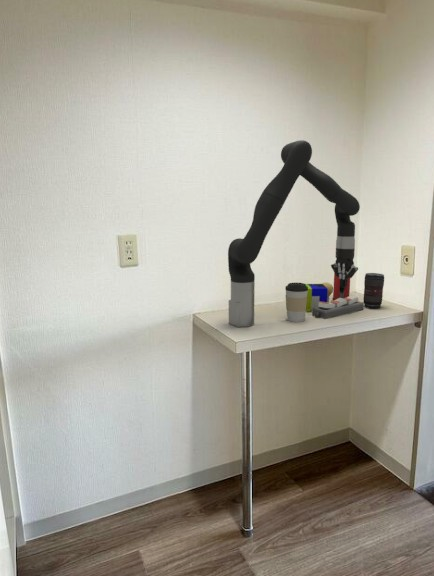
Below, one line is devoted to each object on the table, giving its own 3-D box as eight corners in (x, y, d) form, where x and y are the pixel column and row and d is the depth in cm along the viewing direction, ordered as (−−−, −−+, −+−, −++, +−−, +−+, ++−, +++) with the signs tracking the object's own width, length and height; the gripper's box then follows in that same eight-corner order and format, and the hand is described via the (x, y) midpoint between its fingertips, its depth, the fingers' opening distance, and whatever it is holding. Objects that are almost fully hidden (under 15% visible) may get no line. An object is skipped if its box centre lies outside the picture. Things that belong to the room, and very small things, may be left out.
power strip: (322, 319, 170) (322, 311, 170) (309, 315, 176) (309, 308, 175) (363, 309, 184) (363, 302, 184) (350, 306, 190) (350, 299, 189)
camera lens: (383, 309, 184) (386, 276, 181) (364, 309, 185) (366, 275, 182) (380, 305, 192) (382, 272, 188) (361, 304, 193) (363, 272, 190)
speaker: (332, 302, 198) (334, 264, 194) (332, 298, 205) (333, 261, 201) (350, 303, 196) (352, 264, 192) (348, 299, 203) (350, 262, 199)
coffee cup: (284, 315, 176) (285, 280, 173) (306, 316, 175) (307, 281, 172) (284, 322, 168) (285, 285, 164) (307, 323, 166) (309, 285, 163)
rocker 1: (324, 308, 173) (325, 303, 172) (318, 306, 176) (319, 301, 175) (334, 308, 176) (335, 303, 176) (327, 306, 179) (328, 301, 179)
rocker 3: (349, 305, 181) (348, 300, 180) (342, 303, 184) (342, 299, 183) (358, 300, 184) (358, 296, 183) (351, 299, 187) (351, 294, 186)
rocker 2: (337, 307, 177) (336, 303, 176) (330, 306, 180) (330, 301, 179) (346, 303, 180) (346, 298, 179) (340, 301, 183) (339, 297, 182)
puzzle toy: (326, 311, 183) (327, 288, 181) (303, 311, 183) (304, 288, 181) (321, 305, 192) (322, 283, 190) (299, 305, 193) (300, 284, 191)
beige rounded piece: (314, 303, 196) (316, 282, 194) (325, 301, 199) (326, 281, 197) (324, 306, 190) (326, 284, 188) (335, 304, 193) (336, 283, 191)
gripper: (326, 246, 179) (325, 286, 183) (352, 249, 169) (350, 291, 172) (338, 244, 183) (337, 283, 187) (364, 247, 173) (362, 289, 176)
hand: (343, 287), depth 180 cm, fingers closed
